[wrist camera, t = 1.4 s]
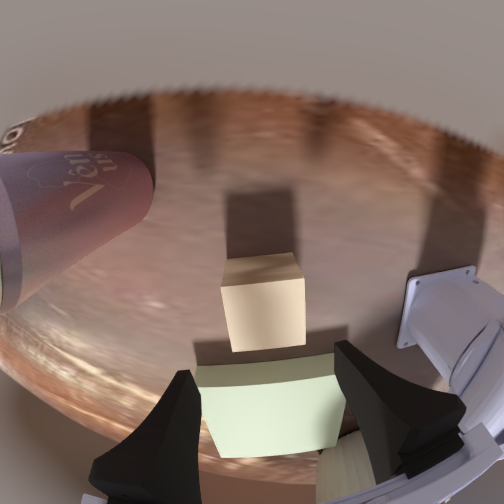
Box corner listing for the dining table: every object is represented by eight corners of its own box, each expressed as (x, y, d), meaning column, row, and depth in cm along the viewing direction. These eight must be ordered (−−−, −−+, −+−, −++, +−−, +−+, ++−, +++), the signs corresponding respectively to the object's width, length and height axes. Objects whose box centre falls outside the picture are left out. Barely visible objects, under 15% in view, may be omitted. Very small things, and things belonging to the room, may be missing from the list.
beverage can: (80, 185, 19) (-73, 233, 4) (128, 136, 18) (-42, 123, 3) (118, 241, 20) (-16, 347, 6) (171, 196, 19) (22, 277, 5)
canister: (376, 393, 26) (435, 540, 6) (427, 421, 30) (472, 513, 10) (273, 458, 30) (281, 579, 10) (345, 474, 34) (365, 562, 14)
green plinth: (342, 350, 24) (351, 371, 21) (331, 428, 28) (335, 446, 25) (197, 365, 24) (192, 387, 21) (222, 439, 28) (221, 457, 26)
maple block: (292, 251, 21) (304, 278, 16) (295, 308, 22) (305, 344, 17) (226, 258, 21) (220, 287, 16) (235, 314, 22) (232, 351, 18)
